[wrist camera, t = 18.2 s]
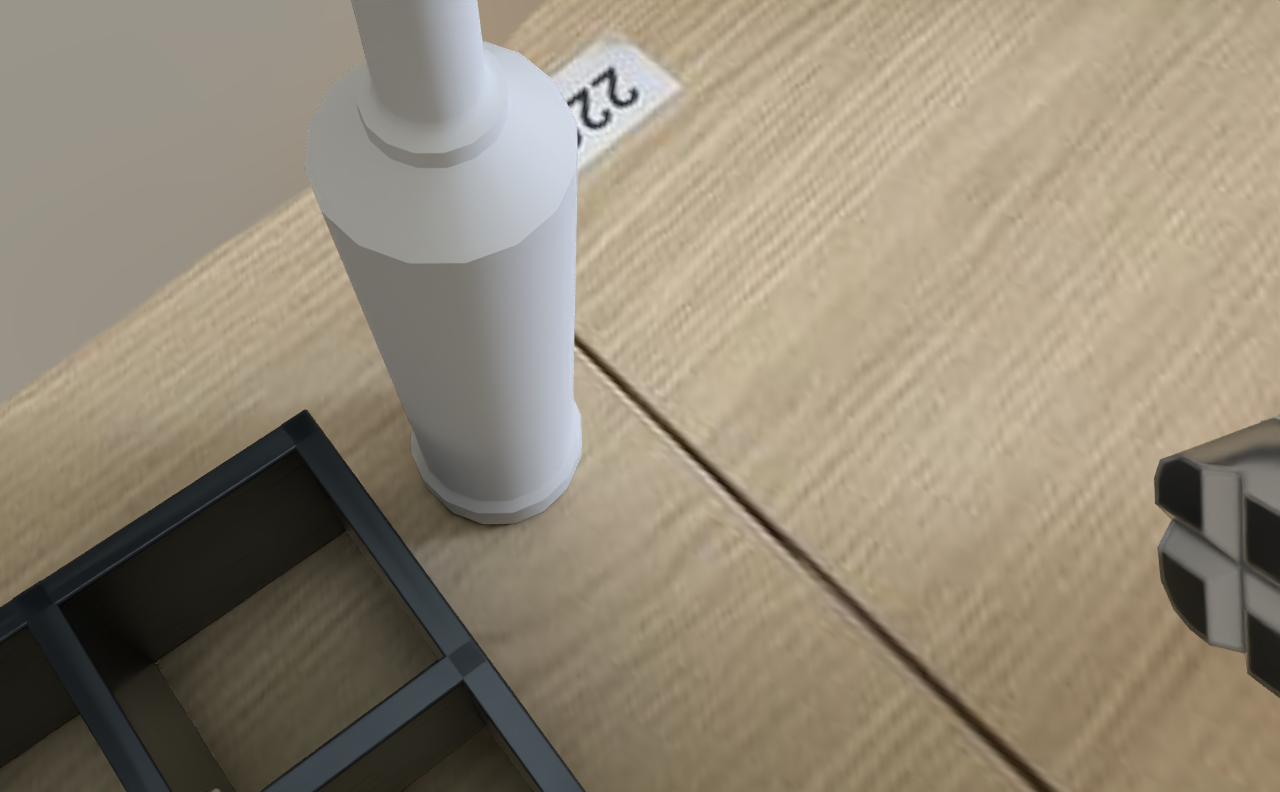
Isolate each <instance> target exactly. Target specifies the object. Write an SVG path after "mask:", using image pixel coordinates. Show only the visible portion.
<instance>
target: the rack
mask: <svg viewBox="0 0 1280 792" xmlns="http://www.w3.org/2000/svg"><path fill="white" fill-rule="evenodd" d="M344 531H347V532H348V534H349V535H350V537H351V538H352V539H353V541H354V542H355V544H356V545H357V546H358V548H359V549H360V551H361V552H362V553H363V555H364V556H365V558H366V559H367V560H368V562H369V563H370V565H371V566H372V567H373V569H374V570H375V572H376V573H377V574H378V576H379V577H380V579H381V580H382V581H383V583H384V584H385V586H386V587H387V588H388V590H389V591H390V593H391V594H392V595H393V597H394V598H395V600H396V601H397V602H398V604H399V605H400V607H401V608H402V609H403V611H404V612H405V614H406V615H407V616H408V618H409V619H410V621H411V622H412V623H413V625H414V626H415V628H416V629H417V630H418V632H419V633H420V635H421V636H422V637H423V639H424V640H425V642H426V643H427V644H428V646H429V647H430V649H431V650H432V651H433V653H434V654H435V656H436V657H437V658H438V660H437V661H436V662H435V663H433V664H432V665H431V666H429V667H428V668H427V669H425V670H424V671H422V672H421V673H420V674H418V675H417V676H416V677H414V678H413V679H412V680H410V681H409V682H408V683H406V684H405V685H403V686H402V687H401V688H399V689H398V690H397V691H395V692H394V693H393V694H391V695H390V696H389V697H387V698H386V699H384V700H383V701H382V702H380V703H379V704H378V705H376V706H375V707H374V708H372V709H371V710H370V711H368V712H367V713H365V714H364V715H363V716H361V717H360V718H359V719H357V720H356V721H355V722H353V723H352V724H351V725H349V726H348V727H346V728H345V729H344V730H342V731H341V732H340V733H338V734H337V735H336V736H334V737H333V738H332V739H330V740H329V741H327V742H326V743H325V744H323V745H322V746H321V747H319V748H318V749H317V750H315V751H314V752H313V753H311V754H310V755H308V756H307V757H306V758H304V759H303V760H302V761H300V762H299V763H298V764H296V765H295V766H294V767H292V768H291V769H289V770H288V771H287V772H285V773H284V774H283V775H281V776H280V777H279V778H277V779H276V780H275V781H273V782H272V783H270V784H269V785H268V786H266V787H265V788H264V789H262V790H261V791H260V792H401V791H402V790H403V789H404V788H406V787H407V786H408V785H410V784H411V783H412V782H414V781H415V780H416V779H418V778H419V777H420V776H421V775H423V774H424V773H425V772H427V771H428V770H429V769H431V768H432V767H433V766H435V765H436V764H437V763H439V762H440V761H441V760H442V759H444V758H445V757H446V756H448V755H449V754H450V753H452V752H453V751H454V750H456V749H457V748H458V747H459V746H461V745H462V744H463V743H465V742H466V741H467V740H469V739H470V738H471V737H473V736H474V735H475V734H476V733H478V732H479V731H480V730H482V729H483V728H484V727H487V728H488V730H489V731H490V733H491V734H492V735H493V737H494V738H495V740H496V741H497V742H498V744H499V745H500V747H501V748H502V749H503V751H504V752H505V754H506V755H507V756H508V758H509V759H510V761H511V762H512V763H513V765H514V766H515V768H516V769H517V770H518V772H519V773H520V775H521V776H522V777H523V779H524V780H525V782H526V783H527V784H528V786H529V787H530V789H531V790H532V791H533V792H586V791H585V790H584V789H583V787H582V786H581V784H580V783H579V782H578V780H577V779H576V778H575V776H574V775H573V773H572V772H571V771H570V769H569V768H568V767H567V765H566V764H565V763H564V761H563V760H562V758H561V757H560V756H559V754H558V753H557V752H556V750H555V749H554V747H553V746H552V745H551V743H550V742H549V741H548V739H547V738H546V736H545V735H544V734H543V732H542V731H541V730H540V728H539V727H538V726H537V724H536V723H535V721H534V720H533V719H532V717H531V716H530V715H529V713H528V712H527V710H526V709H525V708H524V706H523V705H522V704H521V702H520V701H519V699H518V698H517V697H516V695H515V694H514V693H513V691H512V690H511V689H510V687H509V686H508V684H507V683H506V682H505V680H504V679H503V678H502V676H501V675H500V673H499V672H498V671H497V669H496V668H495V667H494V665H493V664H492V662H491V661H490V660H489V658H488V657H487V656H486V654H485V653H484V652H483V650H482V649H481V647H480V646H479V645H478V643H477V642H476V641H475V639H474V638H473V636H472V635H471V634H470V632H469V631H468V630H467V628H466V627H465V625H464V624H463V623H462V621H461V620H460V619H459V617H458V616H457V615H456V613H455V612H454V610H453V609H452V608H451V606H450V605H449V604H448V602H447V601H446V599H445V598H444V597H443V595H442V594H441V593H440V591H439V590H438V588H437V587H436V586H435V584H434V583H433V582H432V580H431V579H430V578H429V576H428V575H427V573H426V572H425V571H424V569H423V568H422V567H421V565H420V564H419V562H418V561H417V560H416V558H415V557H414V556H413V554H412V553H411V551H410V550H409V549H408V547H407V546H406V545H405V543H404V542H403V541H402V539H401V538H400V536H399V535H398V534H397V532H396V531H395V530H394V528H393V527H392V525H391V524H390V523H389V521H388V520H387V519H386V517H385V516H384V514H383V513H382V512H381V510H380V509H379V508H378V506H377V505H376V503H375V502H374V501H373V499H372V498H371V497H370V495H369V494H368V493H367V491H366V490H365V488H364V487H363V486H362V484H361V483H360V482H359V480H358V479H357V477H356V476H355V475H354V473H353V472H352V471H351V469H350V468H349V466H348V465H347V464H346V462H345V461H344V460H343V458H342V457H341V456H340V454H339V453H338V451H337V450H336V449H335V447H334V446H333V445H332V443H331V442H330V440H329V439H328V438H327V436H326V435H325V434H324V432H323V431H322V429H321V428H320V427H319V425H318V424H317V423H316V421H315V420H314V419H313V417H312V416H311V414H310V413H309V412H308V410H303V411H302V412H300V413H299V414H297V415H296V416H294V417H293V418H291V419H290V420H288V421H286V422H285V423H283V424H282V425H281V426H280V427H278V428H277V429H275V430H273V431H272V432H270V433H269V434H267V435H266V436H264V437H263V438H261V439H260V440H258V441H256V442H255V443H253V444H252V445H250V446H249V447H247V448H246V449H244V450H243V451H241V452H240V453H238V454H236V455H235V456H233V457H232V458H230V459H229V460H227V461H226V462H224V463H223V464H221V465H219V466H218V467H216V468H215V469H213V470H212V471H210V472H209V473H207V474H206V475H204V476H202V477H201V478H199V479H198V480H196V481H195V482H193V483H192V484H190V485H189V486H187V487H185V488H184V489H182V490H181V491H179V492H178V493H176V494H175V495H173V496H172V497H170V498H168V499H167V500H165V501H164V502H162V503H161V504H159V505H158V506H156V507H155V508H153V509H152V510H150V511H148V512H147V513H145V514H144V515H142V516H141V517H139V518H138V519H136V520H135V521H133V522H131V523H130V524H128V525H127V526H125V527H124V528H122V529H121V530H119V531H118V532H116V533H114V534H113V535H111V536H110V537H108V538H107V539H105V540H104V541H102V542H101V543H99V544H97V545H96V546H94V547H93V548H91V549H90V550H88V551H87V552H85V553H84V554H82V555H80V556H79V557H77V558H76V559H74V560H73V561H71V562H70V563H68V564H67V565H65V566H64V567H62V568H60V569H59V570H57V571H56V572H54V573H53V574H51V575H50V576H48V577H47V578H45V579H43V580H42V581H39V582H38V583H36V584H35V585H33V586H32V587H30V588H28V589H27V590H25V591H24V592H22V593H21V594H19V595H18V596H16V597H15V598H13V600H11V601H9V602H8V603H6V604H5V605H3V606H2V607H0V767H1V766H3V765H4V764H6V763H7V762H9V761H10V760H12V759H13V758H14V757H16V756H17V755H19V754H20V753H22V752H23V751H25V750H26V749H28V748H29V747H31V746H32V745H33V744H35V743H36V742H38V741H39V740H41V739H42V738H44V737H45V736H47V735H48V734H50V733H51V732H52V731H54V730H55V729H57V728H58V727H60V726H61V725H63V724H64V723H66V722H67V721H68V720H70V719H71V718H73V717H74V716H76V715H77V714H79V713H80V715H81V716H82V718H83V720H84V721H85V723H86V725H87V726H88V728H89V730H90V731H91V733H92V735H93V736H94V738H95V740H96V741H97V743H98V745H99V746H100V748H101V750H102V751H103V753H104V755H105V756H106V758H107V760H108V761H109V763H110V765H111V766H112V768H113V770H114V771H115V773H116V775H117V776H118V778H119V780H120V781H121V783H122V785H123V786H124V788H125V790H126V791H127V792H205V791H209V790H212V789H215V788H217V789H218V790H220V791H221V792H235V790H234V789H233V787H232V786H231V784H230V783H229V781H228V779H227V778H226V776H225V775H224V773H223V771H222V770H221V768H220V767H219V765H218V763H217V762H216V760H215V759H214V757H213V756H212V754H211V752H210V751H209V749H208V748H207V746H206V744H205V743H204V741H203V740H202V738H201V736H200V735H199V733H198V732H197V730H196V728H195V727H194V725H193V724H192V722H191V721H190V719H189V717H188V716H187V714H186V713H185V711H184V709H183V708H182V706H181V705H180V703H179V701H178V700H177V698H176V697H175V695H174V694H173V692H172V690H171V689H170V687H169V686H168V684H167V682H166V681H165V679H164V678H163V676H162V674H161V673H160V671H159V670H158V668H157V667H156V665H155V663H154V662H155V661H156V660H157V659H159V658H160V657H162V656H163V655H165V654H166V653H168V652H169V651H171V650H172V649H173V648H175V647H176V646H178V645H179V644H181V643H182V642H184V641H185V640H187V639H188V638H190V637H191V636H192V635H194V634H195V633H197V632H198V631H200V630H201V629H203V628H204V627H206V626H207V625H208V624H210V623H211V622H213V621H214V620H216V619H217V618H219V617H220V616H222V615H223V614H225V613H226V612H227V611H229V610H230V609H232V608H233V607H235V606H236V605H238V604H239V603H241V602H242V601H243V600H245V599H246V598H248V597H249V596H251V595H252V594H254V593H255V592H257V591H258V590H260V589H261V588H262V587H264V586H265V585H267V584H268V583H270V582H271V581H273V580H274V579H276V578H277V577H278V576H280V575H281V574H283V573H284V572H286V571H287V570H289V569H290V568H292V567H293V566H295V565H296V564H297V563H299V562H300V561H302V560H303V559H305V558H306V557H308V556H309V555H311V554H312V553H313V552H315V551H316V550H318V549H319V548H321V547H322V546H324V545H325V544H327V543H328V542H330V541H331V540H332V539H334V538H335V537H337V536H338V535H340V534H341V533H343V532H344Z"/></svg>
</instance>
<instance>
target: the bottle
mask: <svg viewBox="0 0 1280 792" xmlns="http://www.w3.org/2000/svg"><path fill="white" fill-rule="evenodd" d="M351 2H352V6H353V9H354V14H355V17H356V21H357V25H358V29H359V33H360V37H361V41H362V45H363V49H364V53H365V57H366V58H365V59H364V60H362V61H361V62H360V63H358V64H357V65H356V66H354V67H353V68H352V69H350V70H349V71H348V72H347V73H345V74H344V75H342V76H341V77H340V78H339V79H337V80H336V81H334V82H333V83H332V85H331V86H330V88H329V90H328V92H327V93H326V95H325V97H324V98H323V100H322V102H321V103H320V105H319V106H318V108H317V110H316V112H315V113H314V115H313V117H312V118H311V120H310V122H309V124H308V133H307V144H306V155H305V166H304V169H305V172H306V174H307V177H308V179H309V182H310V184H311V187H312V189H313V192H314V194H315V196H316V199H317V201H318V204H319V206H320V209H321V211H322V214H323V216H324V219H325V221H326V223H327V226H328V228H329V231H330V233H331V235H332V238H333V240H334V243H335V245H336V247H337V250H338V252H339V255H340V257H341V259H342V262H343V264H344V267H345V269H346V271H347V274H348V276H349V279H350V281H351V283H352V286H353V288H354V291H355V293H356V295H357V298H358V300H359V303H360V305H361V307H362V310H363V312H364V314H365V317H366V319H367V322H368V324H369V326H370V329H371V331H372V334H373V336H374V338H375V341H376V343H377V346H378V348H379V350H380V353H381V355H382V358H383V360H384V362H385V365H386V367H387V370H388V372H389V374H390V377H391V379H392V382H393V384H394V386H395V389H396V391H397V394H398V396H399V398H400V401H401V403H402V406H403V408H404V410H405V413H406V415H407V418H408V420H409V422H410V425H411V427H412V428H411V448H410V449H411V452H412V454H413V457H414V459H415V462H416V464H417V467H418V469H419V472H420V474H421V477H422V479H423V482H424V484H425V486H426V487H427V489H428V490H429V491H430V492H431V493H433V494H434V495H435V496H436V497H437V498H438V499H439V500H440V501H441V502H442V503H443V504H444V505H445V506H446V507H447V508H448V509H449V510H450V511H451V512H453V513H455V514H457V515H460V516H463V517H465V518H468V519H471V520H473V521H476V522H478V523H481V524H515V523H517V522H520V521H522V520H525V519H527V518H530V517H532V516H534V515H537V514H539V513H542V512H544V511H545V510H546V509H547V508H548V507H549V506H550V505H551V504H552V503H553V502H554V501H555V500H556V499H557V498H558V497H559V496H560V495H561V494H562V493H563V492H565V491H566V489H567V488H568V486H569V483H570V481H571V479H572V476H573V474H574V472H575V469H576V467H577V465H578V462H579V460H580V458H581V450H582V443H581V414H580V412H579V410H578V407H577V405H576V403H575V401H574V399H573V370H574V319H575V268H576V217H577V122H576V120H575V118H574V116H573V114H572V112H571V110H570V108H569V106H568V104H567V102H566V100H565V98H564V97H563V95H562V93H561V91H560V89H559V87H558V85H557V83H556V82H555V81H553V80H552V79H551V78H550V77H549V76H547V75H546V74H545V73H544V72H542V71H541V70H540V69H539V68H538V67H536V66H535V65H534V64H533V63H531V62H530V61H529V60H528V59H527V58H525V57H524V56H523V55H522V54H520V53H518V52H515V51H512V50H509V49H506V48H503V47H500V46H497V45H494V44H491V43H488V42H485V41H482V35H481V27H480V19H479V13H478V4H477V0H351Z"/></svg>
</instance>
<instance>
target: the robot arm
mask: <svg viewBox="0 0 1280 792" xmlns="http://www.w3.org/2000/svg"><path fill="white" fill-rule="evenodd" d="M1154 487H1155V504H1156V505H1157V506H1158V507H1159V508H1160V509H1161V510H1162V511H1163V512H1164V513H1165V514H1166V515H1167V516H1168V517H1169V518H1170V519H1172V520H1171V522H1170V524H1169V526H1168V528H1167V530H1166V532H1165V534H1164V536H1163V538H1162V540H1161V542H1160V544H1159V546H1158V557H1159V567H1160V577H1161V582H1162V584H1163V586H1164V589H1165V591H1166V593H1167V595H1168V598H1169V600H1170V602H1171V604H1172V607H1173V609H1174V610H1175V612H1176V613H1177V614H1178V615H1179V617H1180V618H1181V619H1182V620H1183V622H1184V623H1185V624H1186V625H1187V627H1188V628H1189V629H1190V630H1191V631H1193V632H1194V633H1195V634H1196V635H1198V636H1199V637H1200V638H1201V639H1203V640H1204V641H1205V642H1206V643H1208V644H1209V645H1211V646H1215V647H1220V648H1224V649H1228V650H1232V651H1236V652H1241V653H1245V660H1246V667H1247V674H1248V675H1250V676H1251V677H1252V678H1254V679H1255V680H1256V681H1258V682H1259V683H1260V684H1262V685H1263V686H1264V687H1266V688H1267V689H1268V690H1270V691H1271V692H1272V693H1274V694H1275V695H1276V696H1278V697H1279V698H1280V414H1278V415H1275V416H1273V417H1270V418H1268V419H1265V420H1262V421H1261V422H1260V423H1258V424H1255V425H1252V426H1250V427H1247V428H1244V429H1241V430H1239V431H1236V432H1233V433H1231V434H1228V435H1225V436H1222V437H1220V438H1217V439H1214V440H1212V441H1209V442H1206V443H1204V444H1201V445H1198V446H1195V447H1193V448H1190V449H1187V450H1185V451H1182V452H1179V453H1176V454H1174V455H1171V456H1168V457H1166V458H1163V459H1160V461H1159V464H1158V467H1157V471H1156V474H1155V477H1154ZM205 792H221V791H220V790H218V789H217V788H215V789H212V790H209V791H205Z"/></svg>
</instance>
